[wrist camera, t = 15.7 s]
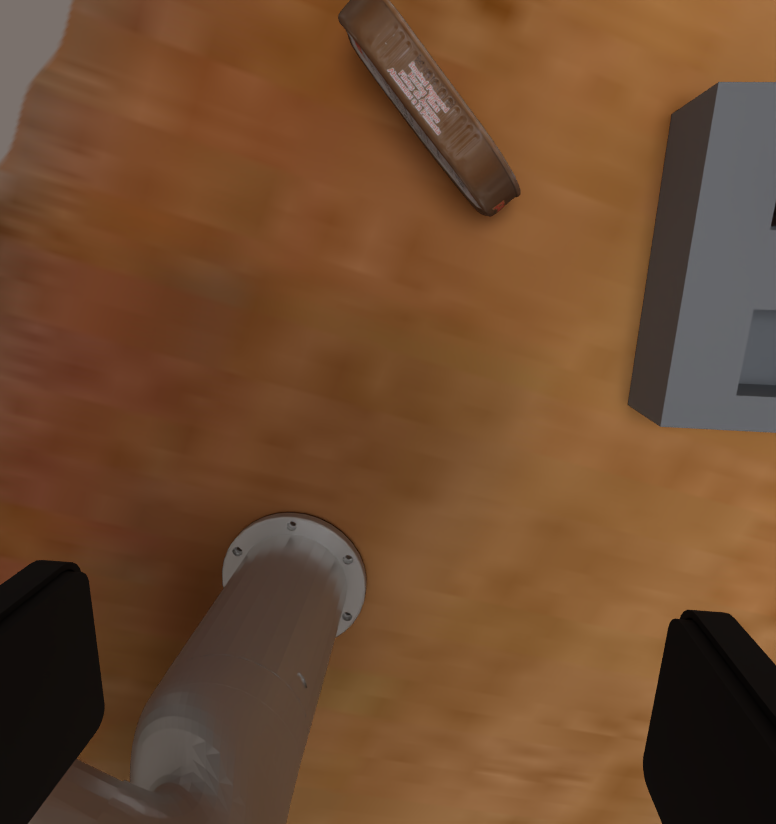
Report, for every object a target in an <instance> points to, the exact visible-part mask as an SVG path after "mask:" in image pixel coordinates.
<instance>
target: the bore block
mask: <svg viewBox="0 0 776 824" xmlns="http://www.w3.org/2000/svg"><path fill="white" fill-rule="evenodd" d="M775 203H776V82H718V83H717V84H715V85H714V86H712V87H711V88H709V89H708V90H706V91H705V92H704V93H702V94H701V95H699V96H698V97H696V98H695V99H693V100H692V101H690V102H689V103H687V104H686V105H684V106H683V107H682V108H680V109H679V110H677V111H676V112H674V113H673V114H672V116H671V122H670V129H669V136H668V142H667V149H666V156H665V162H664V169H663V175H662V182H661V189H660V195H659V202H658V208H657V215H656V222H655V228H654V235H653V241H652V248H651V255H650V261H649V268H648V274H647V281H646V288H645V294H644V301H643V308H642V314H641V321H640V327H639V334H638V341H637V347H636V354H635V360H634V367H633V374H632V380H631V387H630V393H629V400H628V405H629V406H630V407H632V408H633V409H635V410H636V411H638V412H639V413H641V414H642V415H644V416H645V417H647V418H648V419H650V420H651V421H653V422H654V423H656V424H657V425H659V426H660V427H678V428H697V429H717V430H736V431H755V432H774V433H776V226H771V222H772V218H773V213H774V208H775Z"/></svg>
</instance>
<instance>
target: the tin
mask: <svg viewBox="0 0 776 824" xmlns="http://www.w3.org/2000/svg"><path fill="white" fill-rule="evenodd" d="M338 20H339V22H340V24H341V25H342V26H343V27H344V28H345V29H346V31H347V34H348V37H349V40H350V43H351V45H352V47H353V48H354V50H355V51H356V53H357V54H358V56H359V57H360V59H361V60H362V61H363V63H364V64H365V66H366V67H367V69H368V70H369V71H370V73H371V74H372V76H373V77H374V78H375V80H376V81H377V82H378V84H379V85H380V86H381V88H382V89H383V90H384V92H385V93H386V95H387V96H388V97H389V99H390V100H391V101H392V103H393V104H394V105H395V107H396V108H397V109H398V111H399V112H400V113H401V115H402V116H403V117H404V119H405V120H406V121H407V123H408V124H409V126H410V127H411V128H412V130H413V131H414V132H415V134H416V135H417V136H418V138H419V139H420V140H421V142H422V143H423V144H424V146H425V147H426V148H427V149H428V151H429V152H430V153H431V155H432V156H433V157H434V158H435V160H436V161H437V162H438V164H439V165H440V166H441V167H442V169H443V170H444V171H445V172H446V174H447V175H448V176H449V178H450V179H451V180H452V181H453V183H454V184H455V185H456V186H457V188H458V189H459V190H460V191H461V193H462V194H463V195H464V196H465V197H466V199H467V200H468V201H469V202H470V203H471V204H472V206H473V207H474V208H475V209H476V210H477V211H478V212H480V213H481V214H483V215H486V216H493V215H494V214H496V213H497V212H498V211H499V210H501V209H502V208H503V207H504V206H505V205H506V204H507V203H508V202H510V201H511V200H512V199H513V198H514V197H518V196H519V195H520V193H521V192H520V188H519V185H518V182H517V180H516V178H515V175H514V174H513V172H512V170H511V169H510V167H509V165H508V163H507V162H506V160H505V159H504V157H503V155H502V154H501V152H500V151H499V149H498V147H497V146H496V145H495V143H494V141H493V140H492V139H491V137H490V136H489V135H488V133H487V132H486V130H485V129H484V127H483V126H482V125H481V123H480V122H479V121H478V119H477V118H476V116H475V115H474V114H473V112H472V111H471V110H470V108H469V107H468V106H467V104H466V103H465V102H464V100H463V99H462V97H461V96H460V95H459V93H458V92H457V91H456V89H455V88H454V87H453V85H452V84H451V82H450V81H449V80H448V79H447V77H446V76H445V75H444V73H443V72H442V70H441V69H440V68H439V66H438V65H437V64H436V62H435V61H434V60H433V58H432V57H431V56H430V54H429V53H428V51H427V50H426V49H425V47H424V46H423V44H422V43H421V42H420V41H419V39H418V38H417V36H416V35H415V34H414V32H413V31H412V30H411V28H410V27H409V25H408V24H407V23H406V21H405V20H404V19H403V17H402V16H401V15H400V13H399V12H398V10H397V9H396V8H395V7H394V5H393V4H392V3H391V2H390V1H389V0H350V1H349V2H348V3H347V4H346V6H345V7H344V8H343V9H342V11H341V12H340V13H339V16H338Z"/></svg>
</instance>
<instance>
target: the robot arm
mask: <svg viewBox="0 0 776 824" xmlns="http://www.w3.org/2000/svg"><path fill="white" fill-rule="evenodd" d="M292 522H295V523H296V524H294V523H292ZM347 555H349V556H351V557H349V556H347ZM222 583H223V590H222V591H221V593H220V594H219V596H218V597H217V599H216V600H215V602H214V603H213V605H212V606H211V608H210V609H209V610H208V612H207V613H206V615H205V616H204V618H203V619H202V621H201V622H200V624H199V625H198V627H197V628H196V630H195V631H194V633H193V634H192V635H191V637H190V638H189V640H188V641H187V643H186V644H185V646H184V647H183V649H182V650H181V652H180V653H179V655H178V656H177V658H176V659H175V660H174V662H173V663H172V665H171V666H170V668H169V669H168V671H167V672H166V674H165V676H164V677H163V679H162V680H161V681H160V683H159V684H158V686H157V687H156V689H155V690H154V692H153V693H152V695H151V696H150V698H149V700H148V702H147V703H146V705H145V707H144V709H143V711H142V714H141V716H140V719H139V722H138V724H137V727H136V731H135V736H134V740H133V745H132V752H131V764H130V782H128V781H126V780H124V781H123V782H122V781H120V780H118V779H116V778H114V777H112V776H110V775H108V774H106V773H104V772H102V771H100V770H98V769H96V768H94V767H92V766H90V765H88V764H86V763H84V762H82V761H80V760H78V759H76V758H77V757H78V756H79V754H80V753H81V752H82V750H83V749H84V748H85V746H86V745H87V744H88V742H89V741H90V740H91V738H92V737H93V735H94V734H95V733H96V731H97V730H98V728H99V726H100V724H101V721H102V718H103V715H104V697H103V689H102V681H101V673H100V665H99V657H98V650H97V642H96V634H95V626H94V618H93V610H92V602H91V595H90V587H89V580H88V577H87V575H86V574H85V573H83V572H81V570H80V568H79V567H78V565H77V564H75V563H73V562H61V561H48V560H38V561H35V562H33V563H31V564H29V565H28V566H27V567H25V568H24V569H22V570H21V571H20V572H18V573H17V574H15V575H14V576H13V577H11V578H10V579H8V580H7V581H6V582H4V583H3V584H1V585H0V824H286V822H287V817H288V813H289V808H290V803H291V799H292V795H293V791H294V787H295V783H296V779H297V775H298V771H299V768H300V764H301V760H302V757H303V753H304V749H305V746H306V743H307V739H308V735H309V732H310V728H311V725H312V721H313V717H314V714H315V710H316V706H317V703H318V699H319V695H320V692H321V688H322V684H323V681H324V677H325V673H326V670H327V666H328V662H329V659H330V655H331V652H332V648H333V644H334V641H335V638H336V637H337V636H339V635H340V634H342V633H343V632H345V631H346V630H347V629H348V628H349V627H350V626H351V625H352V624H353V623H354V621H355V620H356V618H357V616H358V615H359V613H360V611H361V608H362V605H363V603H364V598H365V593H366V573H365V568H364V564H363V562H362V559H361V557H360V554H359V553H358V551H357V550H356V548H355V547H354V545H353V543H352V542H351V541H350V540H349V539H348V538H347V537H346V536H345V535H344V534H343V533H342V532H341V531H339V530H338V529H337V528H335V527H334V526H333V525H331V524H329V523H327V522H325V521H323V520H321V519H319V518H316V517H313V516H309V515H306V514H299V513H277V514H273V515H269V516H266V517H263V518H261V519H259V520H257V521H255V522H253V523H251V524H250V525H249V526H247V527H246V528H245V529H243V530H242V531H241V533H240V534H239V535H238V536H237V537H236V538H235V540H234V541H233V543H232V544H231V545H230V547H229V549H228V551H227V554H226V556H225V559H224V562H223V569H222ZM643 771H644V777H645V782H646V785H647V788H648V790H649V793H650V795H651V798H652V800H653V802H654V805H655V807H656V810H657V812H658V815H659V817H660V819H661V822H662V824H776V665H775V664H774V663H773V662H772V660H771V659H770V658H769V657H768V656H767V655H766V654H765V652H764V651H763V650H762V649H761V648H760V647H759V646H758V645H757V643H756V642H755V641H754V640H753V639H752V638H751V637H750V635H749V634H748V633H747V632H746V631H745V630H744V629H743V627H742V626H741V625H740V624H739V623H738V622H737V621H736V619H735V618H734V617H732V616H731V615H730V614H728V613H723V612H710V611H697V610H686V611H684V612H683V614H682V615H681V617H680V619H673V620H672V621H671V622H670V624H669V627H668V632H667V637H666V643H665V648H664V653H663V658H662V663H661V668H660V674H659V679H658V684H657V689H656V694H655V700H654V705H653V710H652V715H651V720H650V725H649V731H648V736H647V741H646V746H645V751H644V757H643Z"/></svg>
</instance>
